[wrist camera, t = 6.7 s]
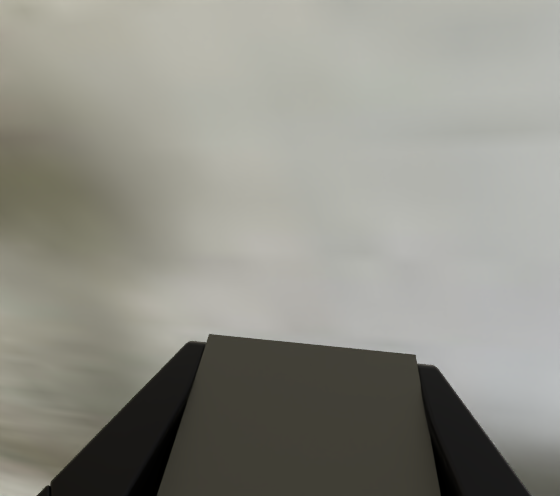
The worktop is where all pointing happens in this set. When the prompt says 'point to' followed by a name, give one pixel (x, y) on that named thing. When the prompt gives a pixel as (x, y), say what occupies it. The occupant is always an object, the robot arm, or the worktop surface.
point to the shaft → (301, 424)
